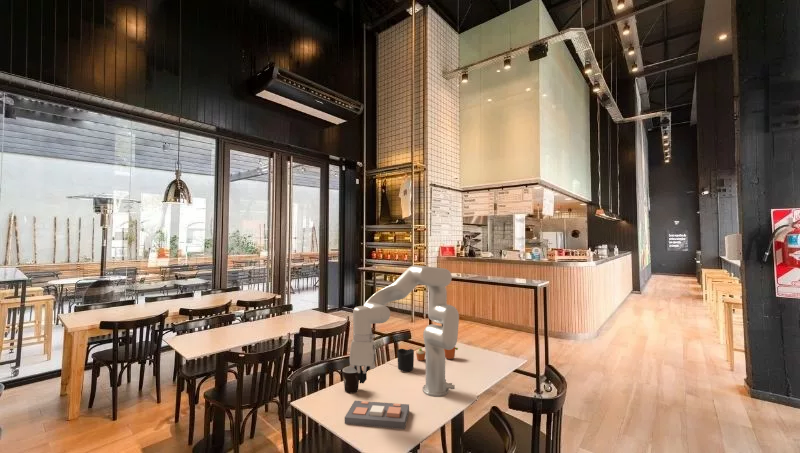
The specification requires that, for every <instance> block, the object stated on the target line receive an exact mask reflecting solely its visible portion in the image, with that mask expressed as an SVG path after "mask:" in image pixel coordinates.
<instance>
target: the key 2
mask: <svg viewBox="0 0 800 453" xmlns="http://www.w3.org/2000/svg"><path fill="white" fill-rule="evenodd" d="M400 415H401V407H389V408H388V411H387V417H393V418H400Z"/></svg>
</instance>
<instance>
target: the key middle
mask: <svg viewBox="0 0 800 453" xmlns="http://www.w3.org/2000/svg"><path fill="white" fill-rule="evenodd" d="M383 414H384V406H375V405H373V406H372V408H371V410H370V416H381V417H382V416H383Z"/></svg>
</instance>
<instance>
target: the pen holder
mask: <svg viewBox="0 0 800 453" xmlns="http://www.w3.org/2000/svg"><path fill="white" fill-rule="evenodd" d="M396 352H397V354H396V356H397V368H398V370H399V371H401V372H406V373H407V372H410V371H413V370H414V361H415V359H414V358H415V350H414V349H412V348H410V349H405V348H399V349H397V351H396Z"/></svg>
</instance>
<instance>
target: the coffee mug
mask: <svg viewBox="0 0 800 453" xmlns="http://www.w3.org/2000/svg"><path fill="white" fill-rule="evenodd" d="M342 378H343V387H344V388H343V389H344V392H345V393H347V394H354V393H355V394H356V393H357V392H358V391H359V385H360V380H359V373H358V372H357V370H356V369H355V368H352V367H350V365H349V366H346V367H344V368H342Z"/></svg>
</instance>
